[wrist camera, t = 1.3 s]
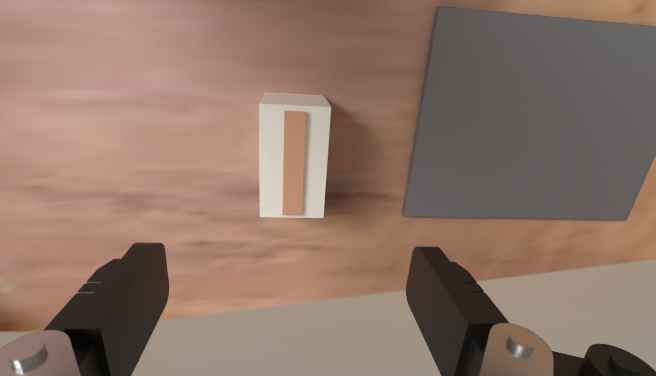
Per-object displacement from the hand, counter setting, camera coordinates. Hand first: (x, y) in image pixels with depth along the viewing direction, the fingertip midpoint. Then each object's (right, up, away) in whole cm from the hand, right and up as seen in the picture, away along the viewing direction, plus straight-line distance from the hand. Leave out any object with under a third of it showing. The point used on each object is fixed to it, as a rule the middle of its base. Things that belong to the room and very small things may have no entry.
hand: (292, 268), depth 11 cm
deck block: (-1, +6, +14) cm, 15 cm away
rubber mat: (+18, +7, +15) cm, 24 cm away
